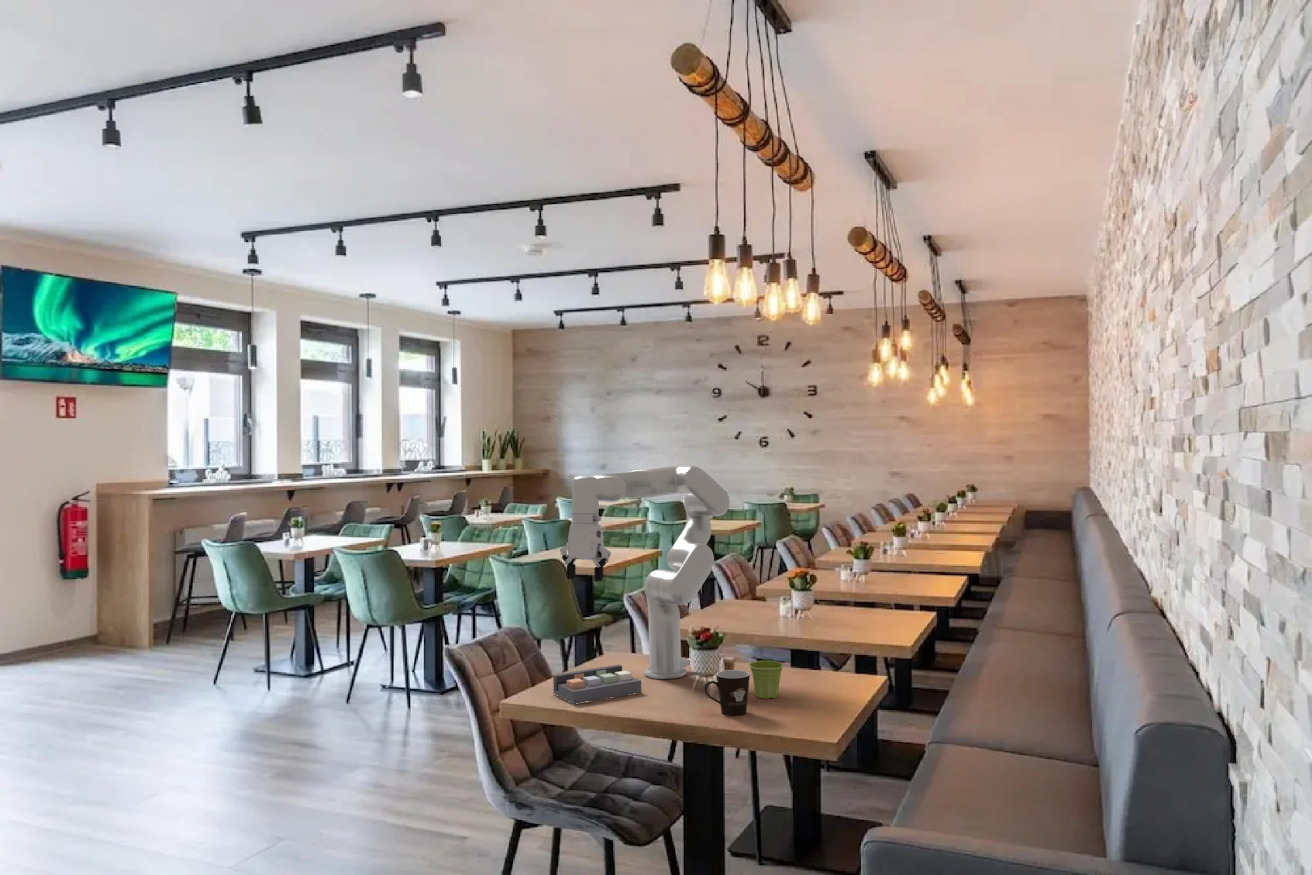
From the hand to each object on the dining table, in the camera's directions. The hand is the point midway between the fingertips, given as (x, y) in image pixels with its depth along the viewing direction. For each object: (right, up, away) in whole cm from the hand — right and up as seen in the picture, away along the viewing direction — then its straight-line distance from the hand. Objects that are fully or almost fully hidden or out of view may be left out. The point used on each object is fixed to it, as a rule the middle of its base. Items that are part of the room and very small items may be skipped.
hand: (584, 579), depth 270 cm
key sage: (+7, -29, -4) cm, 30 cm away
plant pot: (+51, -31, -10) cm, 60 cm away
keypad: (+4, -31, -4) cm, 32 cm away
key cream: (+11, -29, -1) cm, 31 cm away
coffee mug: (+39, -31, -26) cm, 56 cm away
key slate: (+2, -29, -7) cm, 30 cm away
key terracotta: (-2, -29, -9) cm, 30 cm away
